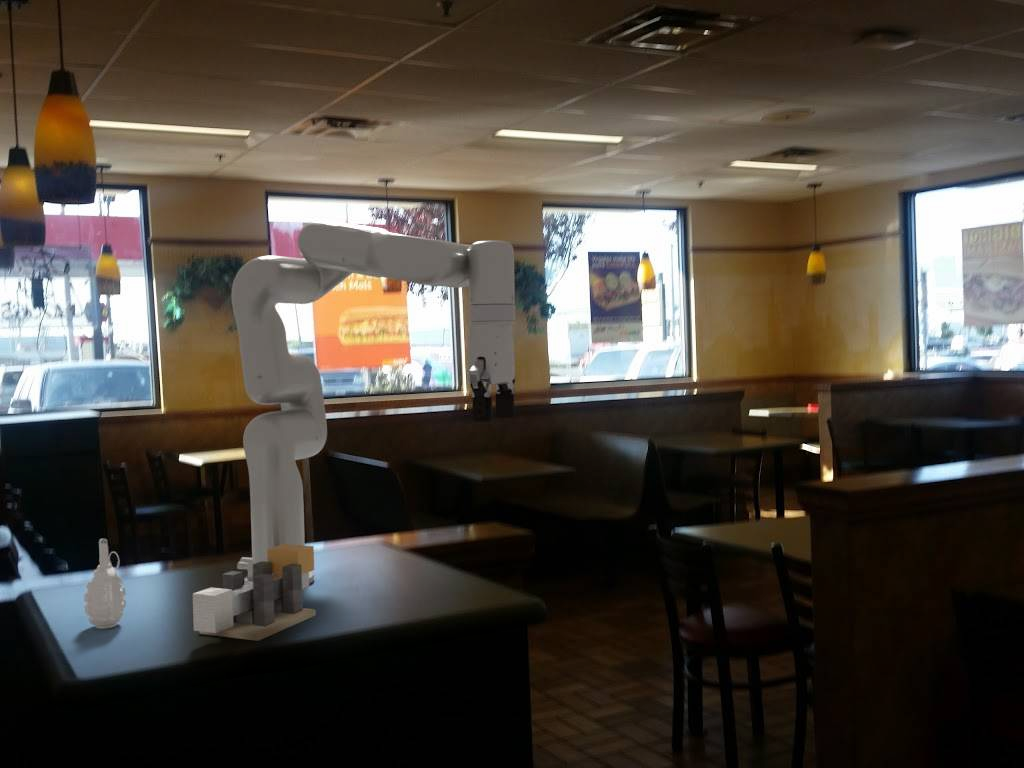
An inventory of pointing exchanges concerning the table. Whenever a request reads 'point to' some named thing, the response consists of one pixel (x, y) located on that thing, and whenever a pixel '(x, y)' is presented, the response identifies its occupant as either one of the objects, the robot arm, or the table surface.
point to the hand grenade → (105, 592)
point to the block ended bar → (229, 604)
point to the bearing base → (266, 630)
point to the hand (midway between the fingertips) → (494, 419)
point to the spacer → (291, 557)
